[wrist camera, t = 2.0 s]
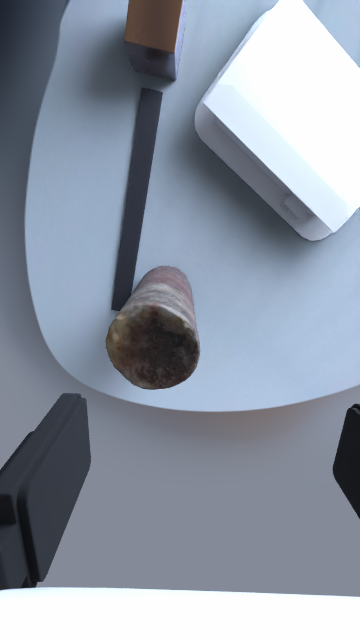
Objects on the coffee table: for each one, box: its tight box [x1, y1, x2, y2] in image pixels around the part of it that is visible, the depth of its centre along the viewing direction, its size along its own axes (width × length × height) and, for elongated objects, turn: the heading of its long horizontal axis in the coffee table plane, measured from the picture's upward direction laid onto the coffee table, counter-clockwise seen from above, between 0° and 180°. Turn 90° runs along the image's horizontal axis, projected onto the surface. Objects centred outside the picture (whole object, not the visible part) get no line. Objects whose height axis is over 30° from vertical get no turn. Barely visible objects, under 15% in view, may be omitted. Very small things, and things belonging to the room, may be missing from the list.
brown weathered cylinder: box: [106, 266, 200, 390], centre depth 29 cm, size 8×7×20 cm
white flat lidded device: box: [195, 0, 360, 241], centre depth 31 cm, size 15×23×4 cm, turn 50°
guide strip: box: [111, 87, 163, 311], centre depth 36 cm, size 2×27×1 cm, turn 168°
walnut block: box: [124, 0, 185, 80], centre depth 28 cm, size 5×5×5 cm
